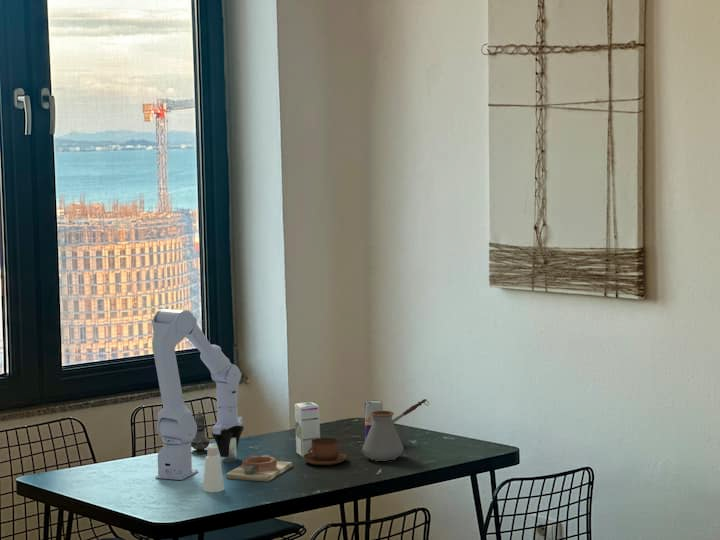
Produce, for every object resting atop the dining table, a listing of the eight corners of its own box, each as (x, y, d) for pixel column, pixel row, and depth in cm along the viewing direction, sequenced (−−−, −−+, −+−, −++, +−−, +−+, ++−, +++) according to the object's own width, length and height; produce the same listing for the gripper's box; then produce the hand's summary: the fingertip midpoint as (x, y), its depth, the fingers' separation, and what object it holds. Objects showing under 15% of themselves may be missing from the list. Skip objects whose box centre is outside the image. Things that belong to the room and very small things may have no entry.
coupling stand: (267, 481, 293) (267, 468, 292) (225, 478, 297) (225, 465, 296) (292, 466, 308) (291, 454, 307) (251, 463, 312) (251, 451, 311)
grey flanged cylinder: (200, 455, 322) (198, 414, 321) (185, 453, 325) (184, 412, 324) (214, 451, 326) (213, 410, 325) (200, 449, 330) (199, 408, 329)
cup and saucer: (335, 469, 304) (334, 447, 303) (295, 466, 309) (295, 443, 309) (354, 459, 315) (353, 437, 314) (315, 456, 320) (315, 434, 319)
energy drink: (362, 440, 337) (362, 400, 336) (380, 439, 339) (379, 399, 338) (368, 444, 332) (367, 403, 331) (385, 442, 334) (385, 402, 333)
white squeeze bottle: (209, 494, 282) (208, 450, 281) (198, 489, 286) (197, 446, 285) (228, 490, 285) (227, 447, 284) (217, 485, 289) (216, 443, 288)
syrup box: (321, 455, 319) (320, 404, 318) (301, 457, 317) (300, 406, 316) (314, 451, 325) (313, 401, 324) (295, 453, 323) (293, 403, 321)
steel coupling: (232, 462, 313) (231, 438, 313) (218, 461, 315) (217, 437, 314) (239, 458, 317) (238, 434, 317) (225, 457, 319) (224, 433, 318)
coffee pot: (377, 465, 307) (376, 411, 306) (354, 457, 316) (353, 404, 315) (440, 454, 318) (439, 401, 317) (416, 446, 328) (415, 395, 327)
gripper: (228, 412, 307) (230, 461, 308) (251, 402, 320) (252, 449, 321) (205, 410, 309) (206, 459, 310) (228, 400, 323) (230, 447, 324)
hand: (228, 454), depth 316 cm, fingers open, 5 cm apart
